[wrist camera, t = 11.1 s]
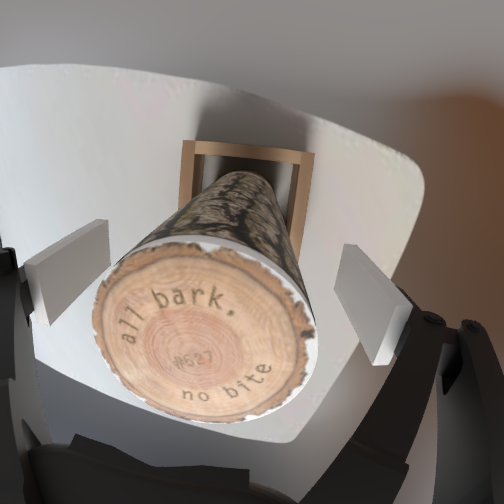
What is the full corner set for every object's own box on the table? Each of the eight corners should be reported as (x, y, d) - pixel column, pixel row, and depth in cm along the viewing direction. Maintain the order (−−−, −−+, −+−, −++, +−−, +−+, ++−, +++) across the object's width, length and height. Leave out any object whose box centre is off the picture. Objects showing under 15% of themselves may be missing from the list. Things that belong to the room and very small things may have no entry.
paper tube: (203, 179, 31) (56, 277, 7) (264, 161, 30) (286, 203, 6) (223, 237, 33) (154, 428, 9) (281, 220, 32) (333, 404, 8)
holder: (187, 245, 33) (176, 262, 29) (194, 141, 29) (183, 140, 24) (290, 257, 33) (295, 275, 29) (306, 152, 29) (314, 153, 25)
